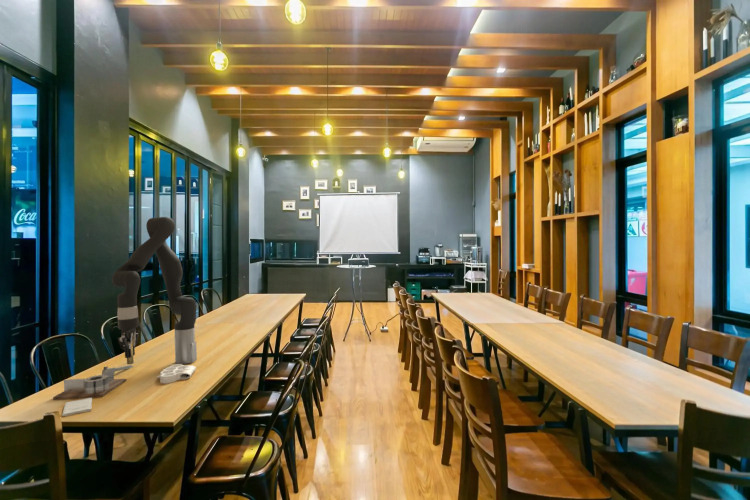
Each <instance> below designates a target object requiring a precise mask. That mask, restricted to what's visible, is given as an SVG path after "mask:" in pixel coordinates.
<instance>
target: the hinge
mask: <svg viewBox="0 0 750 500" xmlns="http://www.w3.org/2000/svg"><path fill="white" fill-rule="evenodd" d="M114 374H115V373H114V369H111V370H109V371H107V372H105V373H104V374H102V373H101V374H98V375H96V374H95V375H92V376H89V377H86V378H69V379H67V378H66V379H64V380H63V391H64V392H80V391H84V393H85V394H94V393H100V392H103V391H106V390H107V389H109V383H110V382H111V381H113V380H114V379H115V377H114V376H115V375H114Z"/></svg>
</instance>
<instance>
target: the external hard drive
mask: <svg viewBox="0 0 750 500" xmlns="http://www.w3.org/2000/svg"><path fill="white" fill-rule="evenodd" d="M92 405H93V397H91V398H80V399H75V400H72V401H67V402H65V404H64V407H63V411H62V414H61V416H65V417H69V416H68V415H70V416H74V415H78V414H83V413H82V412H84V413H88V412H91V411H92ZM77 413H78V414H77ZM73 414H74V415H73Z"/></svg>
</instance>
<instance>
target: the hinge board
mask: <svg viewBox="0 0 750 500" xmlns="http://www.w3.org/2000/svg"><path fill="white" fill-rule="evenodd" d="M126 382H127V378H114V380H113V381H111V382H110V383H109V389H107V390H106V391H103V392H100V393H94V394H85V393H84V391H80V392H64V390H63V391H62V392H59V393H57V394H56V395H54V396H52V400H53V401H55V400H72V399H86V398H103V397H105V396H106V395H107V394H109V393H110V392H112V391H113V390H115V389H116V388H118V387H119V386H121V385H122V384H124V383H126Z"/></svg>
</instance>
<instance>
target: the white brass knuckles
mask: <svg viewBox="0 0 750 500" xmlns="http://www.w3.org/2000/svg"><path fill="white" fill-rule="evenodd" d="M196 370H197V367H196V366H195V365H192V364H191V365H189V364H188V365H187V364H186V365H185V364H176V363H175V364H171V365H169V366H168V367H165V368H164V369H162V371H160V372H159V373H160V374H159V375H157V376H156V378H158V379H159V382H160V384H170V383H171V384H172V383H174V382H176V381H180V380H189V379H190V378H191V376H192V375H193V374H194V372H195V371H196ZM187 375H188V376H187Z"/></svg>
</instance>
